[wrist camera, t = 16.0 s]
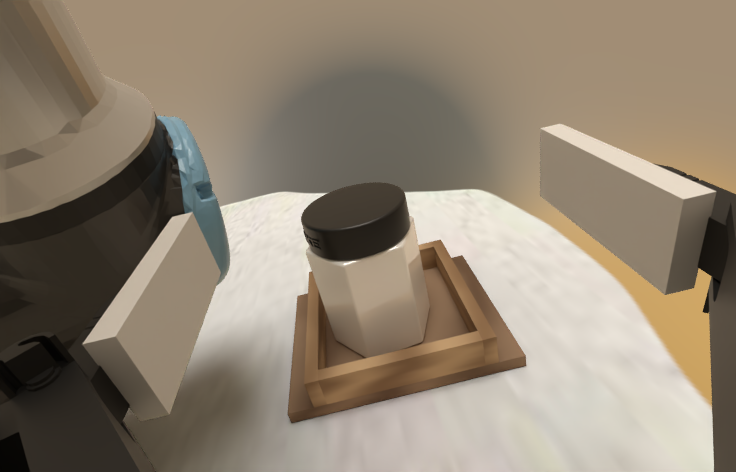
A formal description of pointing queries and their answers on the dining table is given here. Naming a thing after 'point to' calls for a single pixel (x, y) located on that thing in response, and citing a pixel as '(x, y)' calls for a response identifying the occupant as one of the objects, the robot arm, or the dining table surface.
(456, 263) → the wooden tray
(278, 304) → the dining table surface
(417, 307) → the jar
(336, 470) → the dining table surface
